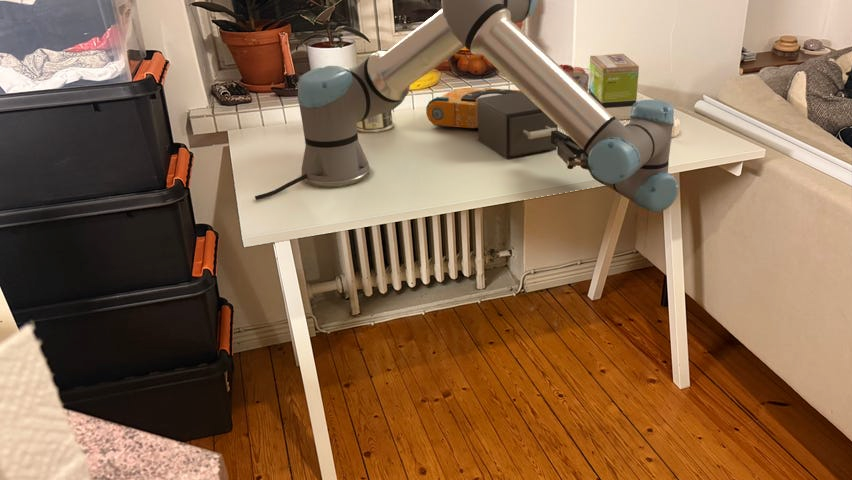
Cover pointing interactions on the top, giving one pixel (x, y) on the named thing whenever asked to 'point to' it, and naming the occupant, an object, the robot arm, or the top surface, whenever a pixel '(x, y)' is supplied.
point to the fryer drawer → (530, 133)
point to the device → (460, 107)
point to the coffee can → (376, 123)
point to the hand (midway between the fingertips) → (553, 136)
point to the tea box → (614, 83)
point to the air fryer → (502, 119)
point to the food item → (577, 75)
